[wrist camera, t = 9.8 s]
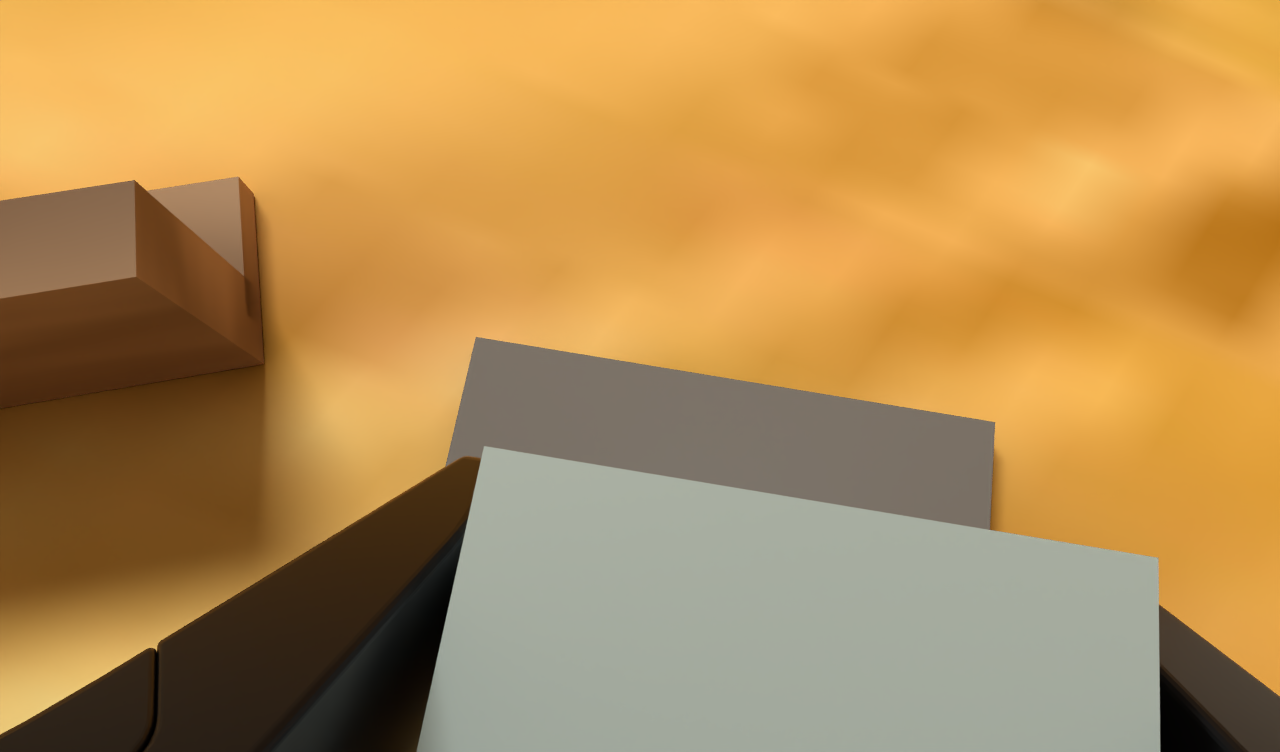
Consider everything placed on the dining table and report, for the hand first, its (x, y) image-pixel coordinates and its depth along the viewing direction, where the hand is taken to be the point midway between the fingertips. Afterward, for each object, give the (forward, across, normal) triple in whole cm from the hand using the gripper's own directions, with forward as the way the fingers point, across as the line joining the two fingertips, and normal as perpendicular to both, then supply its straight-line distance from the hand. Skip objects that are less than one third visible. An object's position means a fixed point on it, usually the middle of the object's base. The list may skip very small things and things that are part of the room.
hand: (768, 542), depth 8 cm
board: (+4, 0, +6) cm, 7 cm away
